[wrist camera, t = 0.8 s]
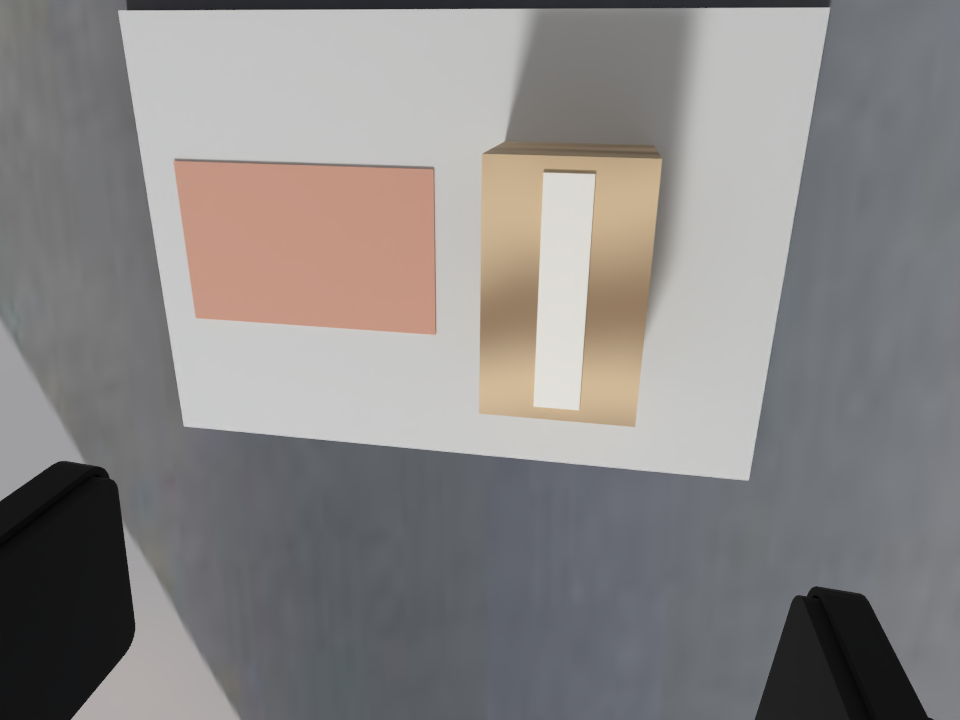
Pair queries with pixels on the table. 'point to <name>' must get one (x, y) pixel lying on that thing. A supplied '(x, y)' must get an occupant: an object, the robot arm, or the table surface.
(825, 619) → the robot arm
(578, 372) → the card box
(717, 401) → the mat
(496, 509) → the table surface
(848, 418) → the table surface
